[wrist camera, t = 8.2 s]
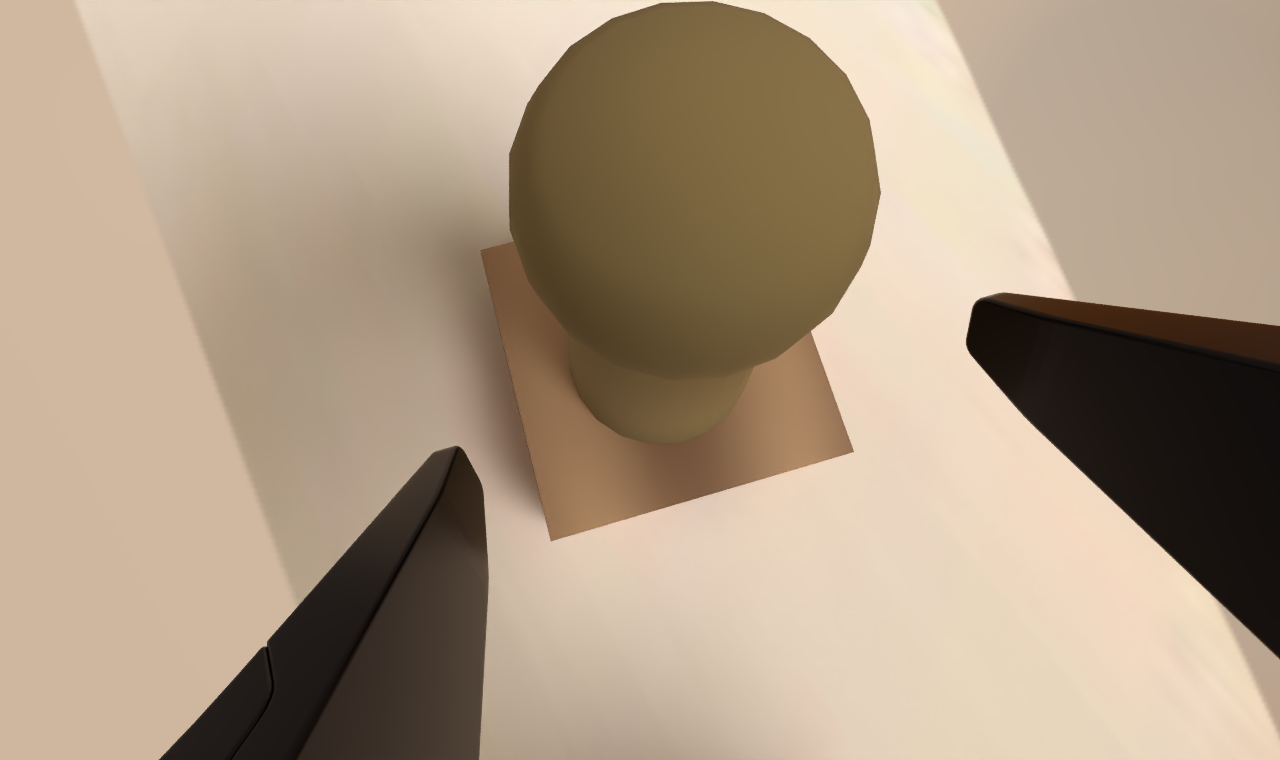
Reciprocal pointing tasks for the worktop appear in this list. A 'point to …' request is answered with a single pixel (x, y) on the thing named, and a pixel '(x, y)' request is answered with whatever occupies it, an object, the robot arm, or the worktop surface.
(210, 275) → the worktop surface
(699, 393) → the cork
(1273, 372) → the robot arm
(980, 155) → the worktop surface
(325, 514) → the worktop surface
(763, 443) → the base block
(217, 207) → the worktop surface
